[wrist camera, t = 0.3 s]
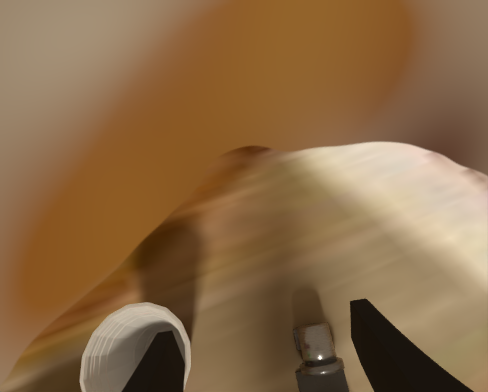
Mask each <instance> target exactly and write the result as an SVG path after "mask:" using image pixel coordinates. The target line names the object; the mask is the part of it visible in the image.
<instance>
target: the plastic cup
mask: <svg viewBox="0 0 488 392" xmlns="http://www.w3.org/2000/svg"><path fill="white" fill-rule="evenodd" d="M171 330H172V331H173V334H174V336H175V339H176V341H177V344H178V347H179V349H180V352H181V354H182V357H183V360H184V362H185V376H184V388H185V385H186V381H187V378H188V375H189V372H190V369H191V354H190V341H189V338H188V336H187V334H186V331H185V329H184V327H183V324H182V322H181V321H180V320H179V319H178V318H177V317H176V316H175V315H174V314H173V313H172V312H170V311H169V310H168V309H167V308H165V307H162V306H159V305H156V304H153V303H149V302H145V303H137V304H129V305H126V306H125V307H123V308H121V309H119V310H117V311H116V312H114V313H112V314H110V315H109V316H108V317H107V318H106V319H105V320H104V321H103V322H102V323H101V324H100V326H99V327H98V328H97V329H96V330H95V331H94V332H93V333H92V336H91V338H90V340H89V342H88V345H87V347H86V349H85V351H84V353H83V356H82V363H81V372H80V381H79V382H80V386H81V389H82V392H122V390H123V388H124V387H125V385H126V384H127V382H128V380H129V379H130V377H131V376H132V374H133V372H134V371H135V369H136V368H137V366H138V364H139V363H140V361H141V359H142V358H143V356H144V354H145V352H146V351H147V349H148V347H149V346H150V344H151V342H152V340H153V339H154V337H155V335H156V334H157V333H158V332H165V331H171ZM183 391H184V390H183Z"/></svg>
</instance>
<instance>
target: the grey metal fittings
mask: <svg viewBox="0 0 488 392" xmlns="http://www.w3.org/2000/svg"><path fill="white" fill-rule="evenodd" d="M293 332H294V337H295V342H296V346H297V350H301V351H302V356H303V361H304V363H302V364H301V365H300V370H301V371H299V372H296V376H297V381H298V386H299V391H300V392H349V390H348V386H347V382H346V378H345V374H344V370H343V369H344V363H343V360H342V358H338V357H336V353H335V349H334V345H333V341H332V337H331V333H330V329H329V325H328V322H323V323H315V324H309V325H304V326H300V327H297V329H294V330H293Z"/></svg>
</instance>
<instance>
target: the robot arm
mask: <svg viewBox="0 0 488 392" xmlns="http://www.w3.org/2000/svg"><path fill="white" fill-rule="evenodd" d="M350 312H351V338H352V341H353V344H354V346H355V349H356V352H357V355H358V357H359V360H360V363H361V365H362V367H363V369H364V371H365V373H366V375H367V377H368V380H369V382H370V384H371V386H372V388H373V390H374V392H474V391H472V390H471V389H469V388H468V387H467V386H465V385H464V384H463V383H461V382H460V381H459V380H457V379H456V378H455V377H453V376H452V375H451V374H449V373H448V372H447V371H446V370H444V369H443V368H442V367H441V366H439V365H438V364H437V363H436V362H434V361H433V360H432V359H431V358H430V357H428V356H427V355H426V354H425V353H424V352H422V351H421V350H420V349H419V348H418V347H417V346H415V345H414V344H413V343H412V342H411V341H410V340H409V339H408V338H407V337H405V336H404V335H403V334H402V333H401V332H400V331H399V330H398V329H397V328H396V327H395V326H394V325H392V324H391V323H390V322H389V321H388V320H387V319H386V318H385V317H384V316H383V315H382V314H381V313H380V312H379V311H378V310H377V309H376V308H375V307H374V306H373V305H372V304H371V303H370V302H369V301H368V300H367V299H360V300H354V301H350ZM184 376H185V362H184V360H183V357H182V354H181V352H180V349H179V347H178V344H177V341H176V339H175V336H174V334H173V331H172V330H171V331H165V332H158V333H157V334H156V335H155V337H154V339H153V340H152V342H151V344H150V346H149V347H148V349H147V351H146V352H145V354H144V356H143V358H142V359H141V361H140V363H139V364H138V366H137V368H136V369H135V371H134V372H133V374H132V376H131V377H130V379H129V380H128V382H127V384H126V385H125V387H124V388H123V390H122V392H183V390H184Z"/></svg>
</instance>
